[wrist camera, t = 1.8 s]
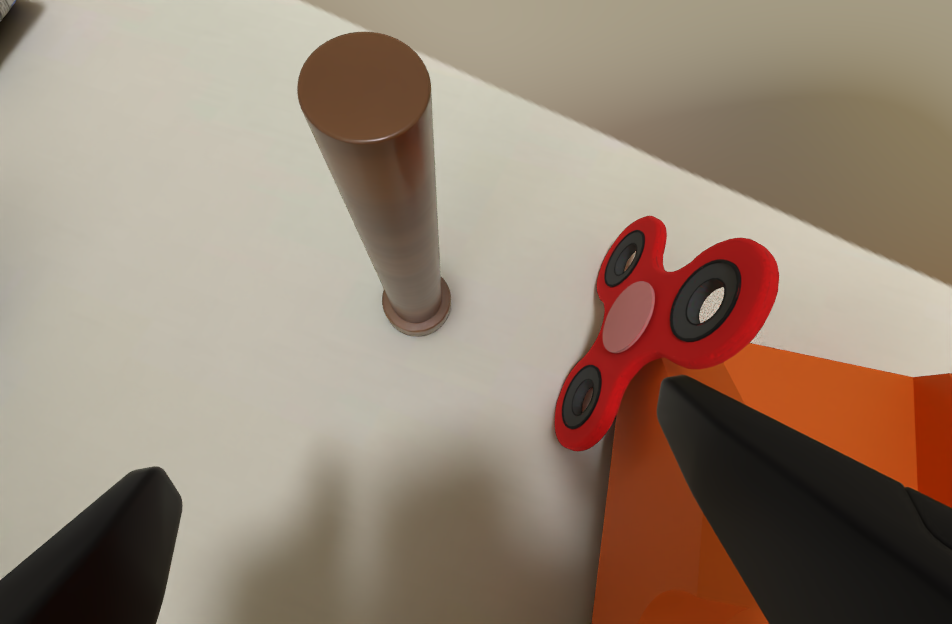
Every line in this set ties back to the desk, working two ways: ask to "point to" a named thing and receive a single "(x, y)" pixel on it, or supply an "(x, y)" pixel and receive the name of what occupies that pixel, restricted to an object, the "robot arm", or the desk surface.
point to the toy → (662, 320)
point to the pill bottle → (5, 7)
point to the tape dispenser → (678, 514)
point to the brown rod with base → (382, 164)
